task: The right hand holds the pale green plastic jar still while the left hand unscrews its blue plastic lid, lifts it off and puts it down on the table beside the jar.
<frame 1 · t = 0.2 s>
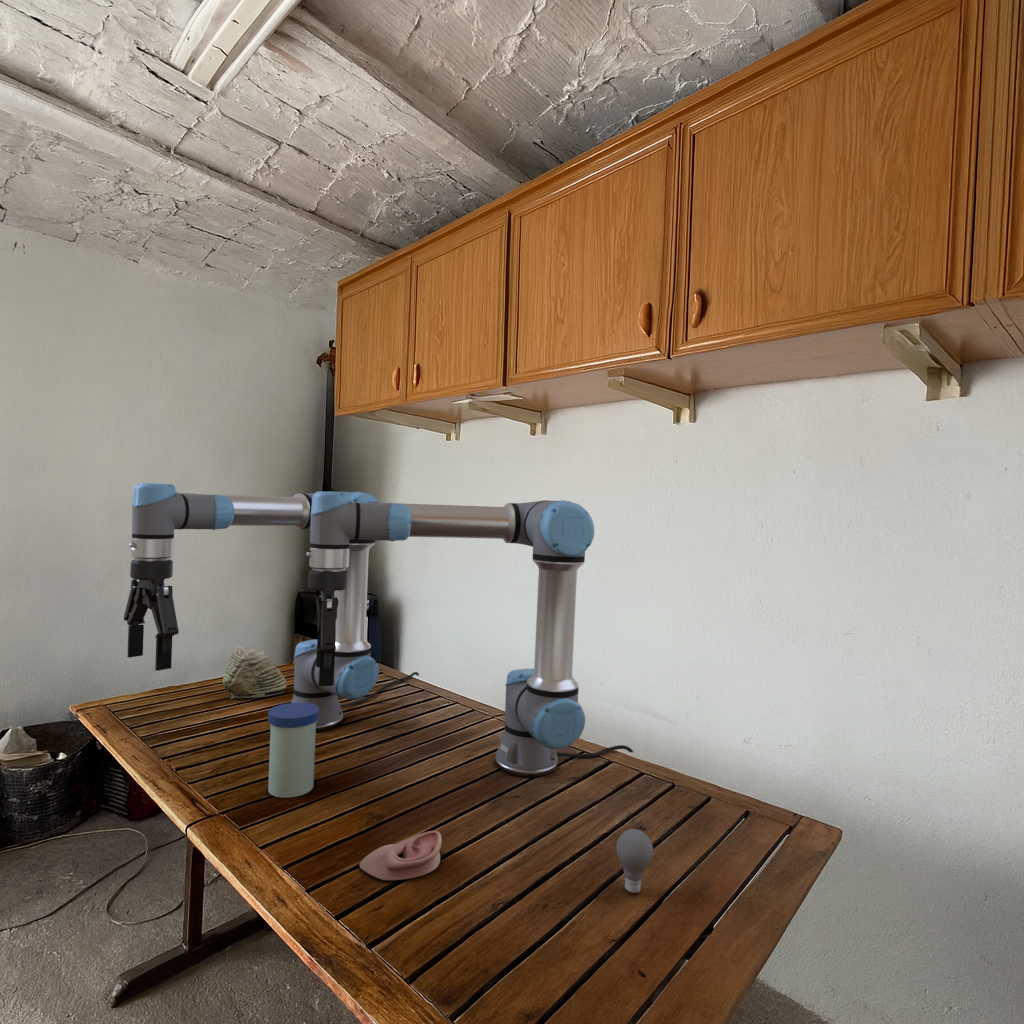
left hand: (148, 662, 129), 28 cm above the table, tool pointing down, fingers open, 13 cm apart
right hand: (324, 675, 126), 28 cm above the table, tool pointing down, fingers open, 13 cm apart
fossil: (254, 694, 198), on the table
lid: (294, 711, 137), point 17 cm above the table, screwed on, not yet turned
light bulb: (632, 891, 106), on the table
jar: (291, 787, 137), on the table
anatomical model: (401, 863, 111), on the table
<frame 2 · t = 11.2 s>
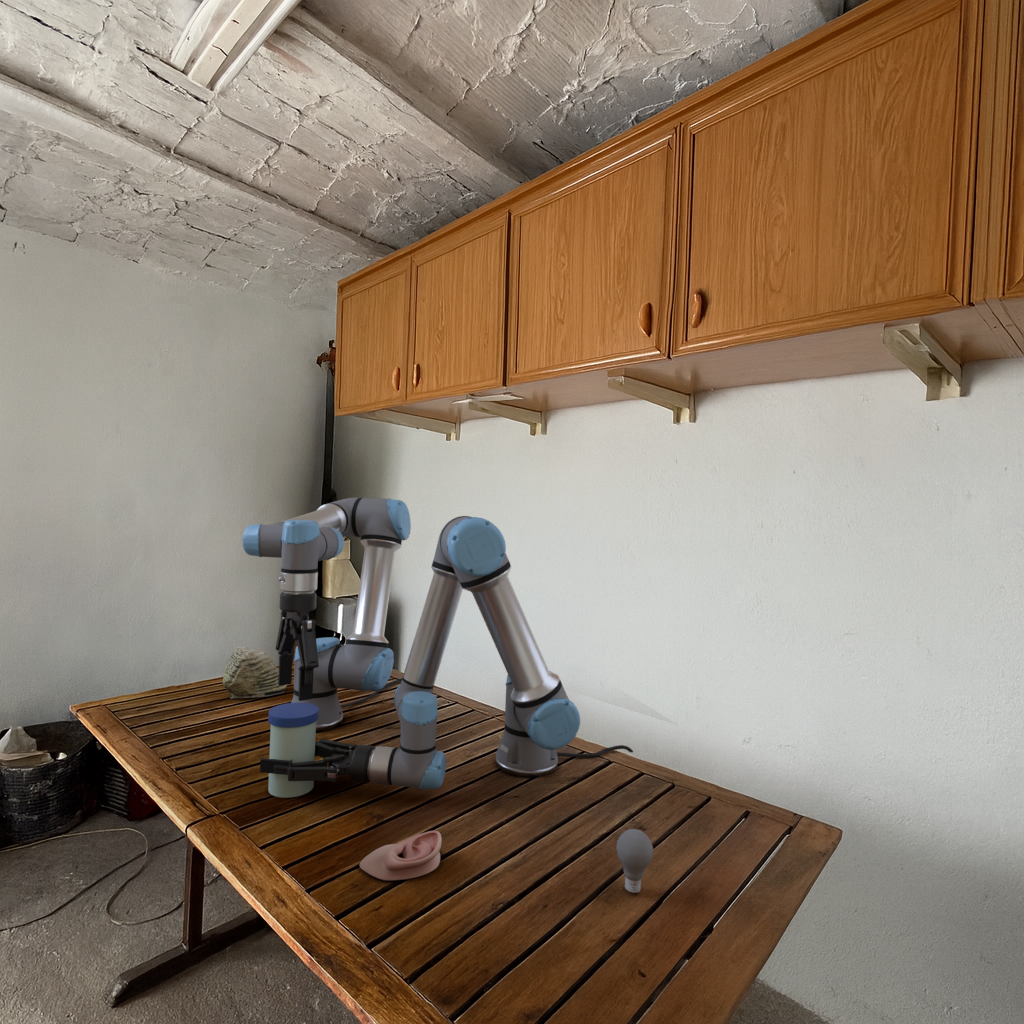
left hand: (294, 691, 137), 21 cm above the table, tool pointing down, fingers open, 12 cm apart
right hand: (272, 755, 138), 7 cm above the table, tool horizontal, fingers closed on jar, 9 cm apart
jar: (291, 787, 137), on the table, touching right hand
everything else where it was.
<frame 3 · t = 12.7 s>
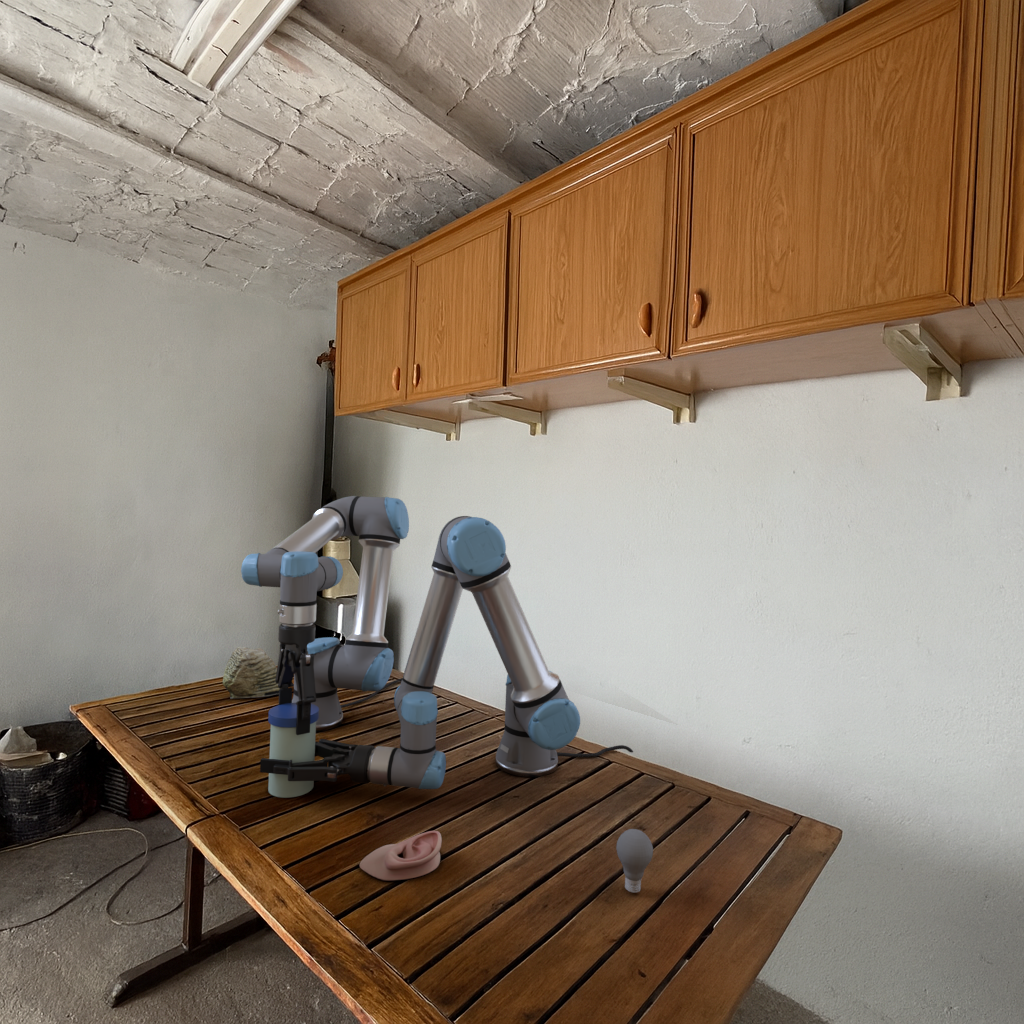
left hand: (293, 725, 137), 14 cm above the table, tool pointing down, fingers closed on lid, 10 cm apart
right hand: (272, 755, 138), 7 cm above the table, tool horizontal, fingers closed on jar, 9 cm apart
lid: (294, 711, 137), point 17 cm above the table, screwed on, not yet turned, touching left hand
jar: (291, 787, 137), on the table, touching right hand
everything else where it was.
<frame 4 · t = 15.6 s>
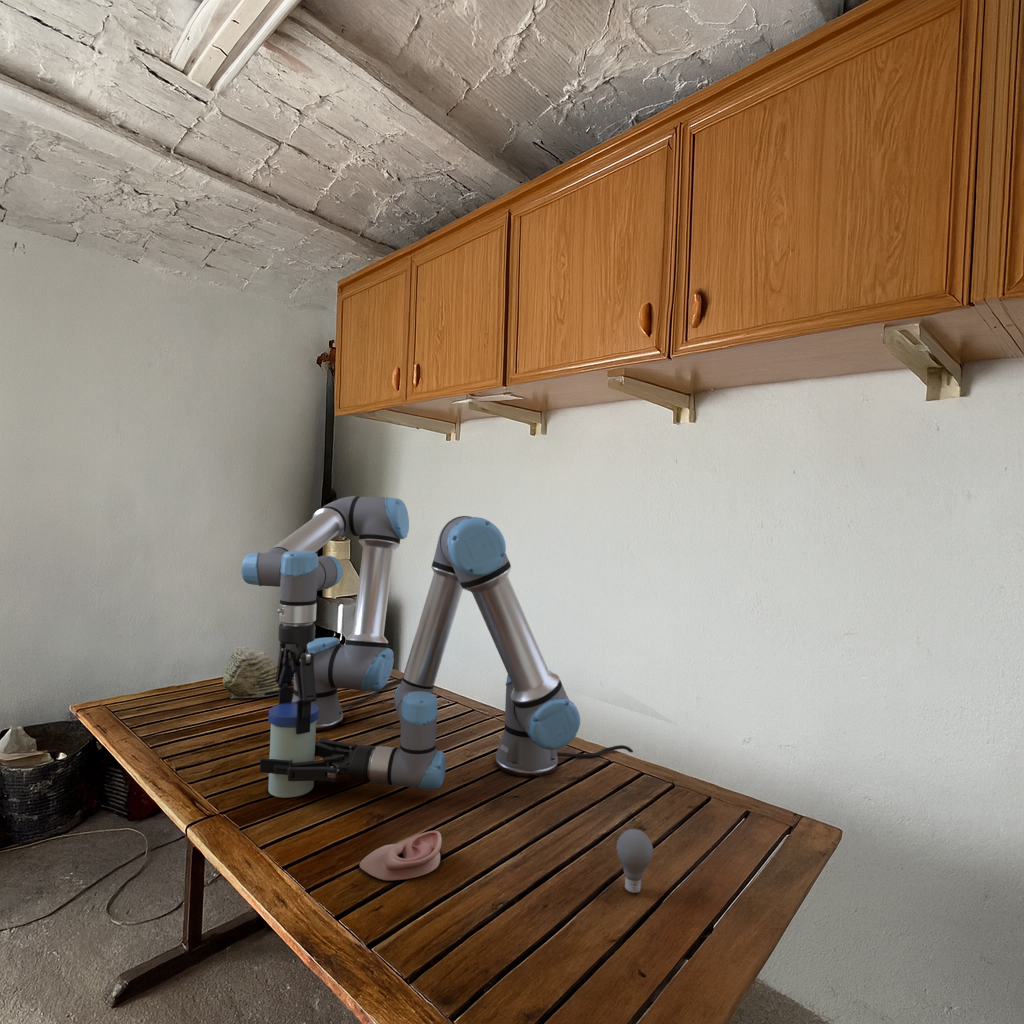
left hand: (293, 724, 137), 14 cm above the table, tool pointing down, fingers closed on lid, 10 cm apart
right hand: (272, 755, 138), 7 cm above the table, tool horizontal, fingers closed on jar, 9 cm apart
lid: (294, 710, 137), point 17 cm above the table, turned 75° so far, risen 0.2 cm, still on its thread, touching left hand
jar: (291, 787, 137), on the table, touching right hand
everything else where it was.
when the left hand's fingers open (0 cm above the table, at t = 23.1 s): lid drops 2 cm, point 2 cm above the table.
when the right hand's fingers open (7 cm above the table, at t = 24.1 s): jar stays where it is, on the table.
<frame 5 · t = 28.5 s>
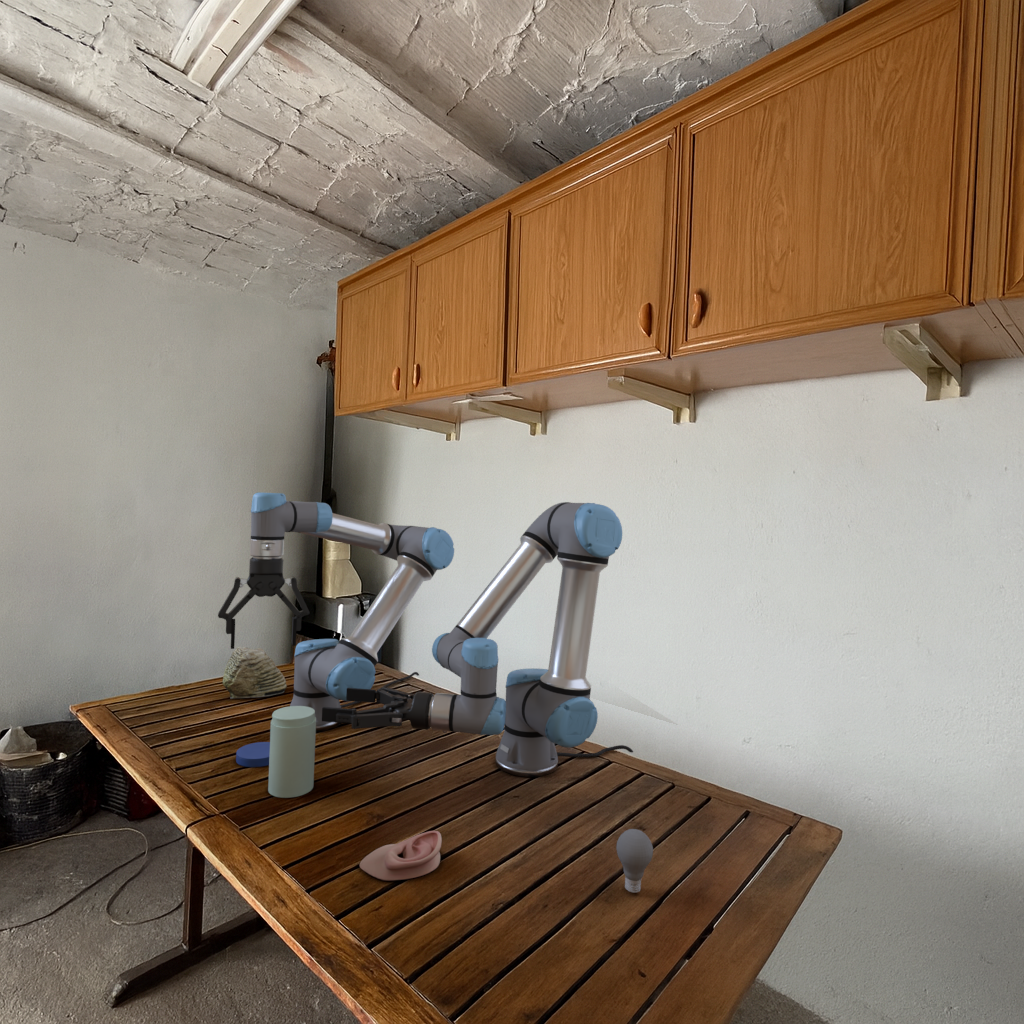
left hand: (263, 646, 151), 27 cm above the table, tool pointing down, fingers open, 13 cm apart
right hand: (335, 703, 136), 19 cm above the table, tool horizontal, fingers open, 13 cm apart
lid: (259, 751, 152), point 2 cm above the table, off its thread
jar: (291, 787, 137), on the table
everything else where it was.
at the end: lid came off its thread; lid point 1.6 cm above the table; the left hand is holding nothing; the right hand is holding nothing; jar tilted 0°; jar moved 0.1 cm from its start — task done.
